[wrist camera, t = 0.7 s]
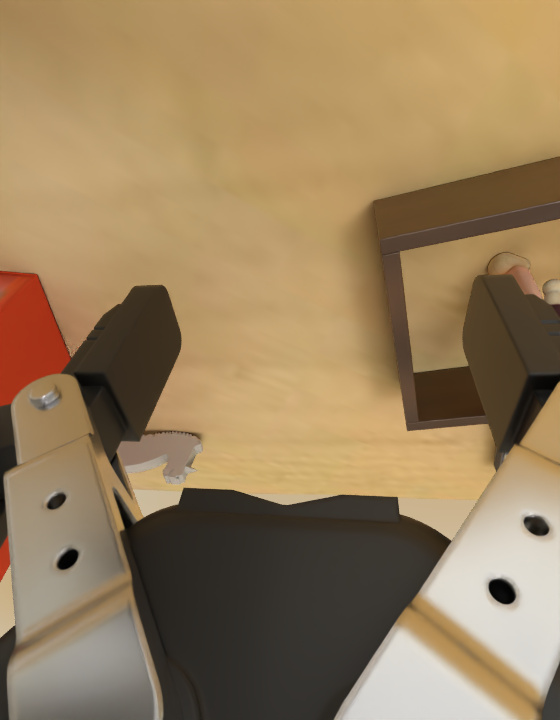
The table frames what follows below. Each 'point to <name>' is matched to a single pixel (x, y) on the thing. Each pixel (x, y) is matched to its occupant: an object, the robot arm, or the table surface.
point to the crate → (442, 224)
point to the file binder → (25, 345)
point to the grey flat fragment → (162, 454)
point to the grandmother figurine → (525, 278)
